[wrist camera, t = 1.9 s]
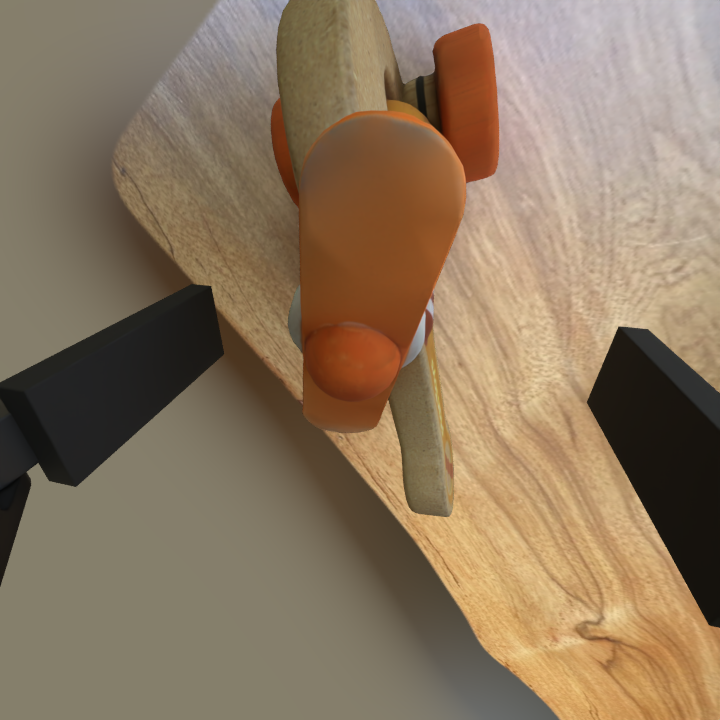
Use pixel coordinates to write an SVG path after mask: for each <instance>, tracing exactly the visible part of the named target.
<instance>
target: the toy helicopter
mask: <svg viewBox="0 0 720 720" xmlns="http://www.w3.org/2000/svg"><path fill="white" fill-rule="evenodd" d="M276 54H277V78H278V87H279V94H280V98H279V99H278V100H277V101H276V103H275V104H274V107H273V110H272V115H271V135H272V144H273V151H274V155H275V160H276V163H277V166H278V170H279V172H280V175H281V177H282V180H283V183H284V185H285V187H286V189H287V191H288V193H289V195H290V197H291V198H292V200H293V202H294V203H295V204H296V206H297V207H298V209H299V245H300V284H299V286H298V287H297V289H296V292H295V294H294V297H293V301H292V304H291V308H290V311H289V316H288V328H289V332H290V335H291V337H292V340H293V342H294V343H295V344H296V346H297V347H298V348H299V349H300V351H301V352H302V353H303V359H304V360H303V415H304V417H305V418H306V419H307V421H309V422H310V423H311V424H313V425H314V426H316V427H318V428H320V429H323V430H327V431H333V432H339V433H355V432H363V431H367V430H371V429H373V428H375V427H376V426H377V424H378V422H379V420H380V418H381V415H382V412H383V410H384V407H385V405H386V403H387V400H389V404H390V407H391V411H392V415H393V419H394V423H395V427H396V431H397V435H398V438H399V442H400V446H401V454H402V467H403V483H404V490H405V495H406V500H407V503H408V506H409V508H410V509H411V510H412V511H413V512H415V513H418V514H425V515H433V516H442V517H449V516H450V515H451V513H452V509H453V500H454V465H453V449H452V440H451V433H450V428H449V425H448V422H447V420H446V416H445V411H444V403H443V396H442V389H441V382H440V375H439V368H438V362H437V355H436V348H435V341H434V333H433V311H434V305H433V302H434V288H435V285H436V282H437V280H438V277H439V275H440V273H441V270H442V268H443V265H444V263H445V260H446V258H447V255H448V253H449V250H450V248H451V245H452V243H453V241H454V238H455V236H456V233H457V230H458V227H459V225H460V222H461V219H462V217H463V213H464V207H465V201H466V183H467V182H471V181H476V180H480V179H484V178H487V177H489V176H491V175H493V174H494V173H495V171H496V169H497V165H498V157H499V119H498V104H497V87H496V76H495V65H494V56H493V50H492V43H491V37H490V33H489V30H488V28H487V27H486V26H485V25H484V24H480V23H478V24H473V25H471V26H468V27H465V28H462V29H460V30H457V31H454V32H452V33H449V34H446V35H444V36H442V37H441V38H439V39H438V40H437V41H436V43H435V45H434V49H433V56H434V63H435V71H434V73H433V74H431V75H428V76H419V77H418V78H416V79H414V80H412V81H410V82H408V83H406V84H403V83H402V79H401V76H400V72H399V69H398V65H397V62H396V58H395V55H394V51H393V48H392V44H391V40H390V37H389V33H388V30H387V28H386V25H385V23H384V20H383V17H382V14H381V12H380V10H379V8H378V5H377V3H376V1H375V0H290V1H289V3H288V4H287V6H286V7H285V9H284V10H283V12H282V16H281V20H280V24H279V27H278V35H277V48H276Z"/></svg>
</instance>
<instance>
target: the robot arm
mask: <svg viewBox="0 0 720 720" xmlns="http://www.w3.org/2000/svg"><path fill="white" fill-rule="evenodd" d="M223 354H224V351H223V345H222V340H221V335H220V330H219V324H218V319H217V314H216V309H215V303H214V298H213V293H212V288H211V286H205V285H195V284H191V285H189V286H187V287H185V288H183V289H182V290H180V291H178V292H176V293H174V294H172V295H170V296H168V297H166V298H164V299H162V300H160V301H158V302H156V303H154V304H152V305H150V306H148V307H146V308H144V309H142V310H141V311H139V312H137V313H135V314H133V315H131V316H129V317H127V318H125V319H123V320H121V321H119V322H117V323H115V324H113V325H111V326H109V327H107V328H106V329H103V330H102V331H100V332H98V333H96V334H94V335H92V336H90V337H88V338H86V339H84V340H82V341H80V342H78V343H76V344H74V345H72V346H70V347H68V348H66V349H64V350H62V351H61V352H59V353H57V354H55V355H53V356H51V357H49V358H47V359H45V360H43V361H41V362H39V363H37V364H35V365H33V366H31V367H29V368H27V369H25V370H23V371H21V372H20V373H18V374H16V375H14V376H12V377H10V378H8V379H6V380H4V381H2V382H0V586H1V582H2V579H3V576H4V573H5V569H6V566H7V563H8V560H9V556H10V552H11V550H12V546H13V543H14V540H15V537H16V533H17V530H18V527H19V523H20V520H21V517H22V514H23V510H24V507H25V503H26V500H27V497H28V494H29V490H30V487H31V479H30V477H29V476H28V474H27V471H28V470H29V469H30V468H32V467H33V466H34V465H36V464H37V463H39V465H40V466H41V468H42V470H43V471H44V473H45V475H46V477H47V478H48V480H49V481H52V482H56V483H61V484H65V485H70V486H74V487H76V486H78V485H79V484H80V483H81V482H82V481H83V480H84V479H85V478H86V477H88V476H89V475H90V474H91V473H92V472H93V471H94V470H95V469H96V468H98V467H99V466H100V465H101V464H102V463H103V462H104V461H105V460H107V459H108V458H109V457H110V456H111V455H112V454H113V453H114V452H115V451H117V450H118V448H120V447H121V446H122V445H123V444H124V443H125V442H127V441H128V440H129V439H130V438H131V437H132V436H133V435H134V434H135V433H137V432H138V431H139V430H140V429H141V428H142V427H143V426H144V425H145V424H147V423H148V422H149V421H150V420H151V419H152V418H153V417H154V416H155V415H157V414H158V413H159V412H160V411H161V410H162V409H163V408H164V407H166V406H167V405H168V404H169V403H170V402H171V401H172V400H173V399H174V398H176V397H177V396H178V395H179V394H180V393H181V392H182V391H184V390H185V389H186V388H187V387H188V386H189V385H190V384H191V383H192V382H194V381H195V380H196V379H197V378H198V377H199V376H200V375H201V374H202V373H204V371H206V370H207V369H208V368H209V367H210V366H211V365H213V364H214V363H215V362H216V361H217V360H218V359H219V358H220V357H221V356H223ZM587 404H588V406H589V407H590V409H591V411H592V413H593V415H594V416H595V418H596V420H597V422H598V424H599V426H600V427H601V429H602V431H603V433H604V435H605V437H606V438H607V440H608V442H609V444H610V446H611V447H612V449H613V451H614V453H615V455H616V457H617V458H618V460H619V462H620V464H621V466H622V467H623V469H624V471H625V473H626V475H627V477H628V478H629V480H630V482H631V484H632V486H633V488H634V489H635V491H636V493H637V495H638V497H639V498H640V500H641V502H642V504H643V506H644V508H645V509H646V511H647V513H648V515H649V517H650V518H651V520H652V522H653V524H654V526H655V528H656V529H657V531H658V533H659V535H660V537H661V539H662V540H663V542H664V544H665V546H666V548H667V549H668V551H669V553H670V555H671V557H672V559H673V560H674V562H675V564H676V566H677V568H678V569H679V571H680V573H681V575H682V577H683V579H684V580H685V582H686V584H687V586H688V588H689V590H690V591H691V593H692V595H693V597H694V599H695V600H696V602H697V604H698V606H699V608H700V610H701V611H702V613H703V615H704V617H705V619H706V620H707V622H708V624H709V625H710V626H715V627H719V628H720V393H719V392H718V391H716V390H715V389H714V388H713V387H712V386H711V385H710V384H709V383H707V382H706V381H705V380H704V379H703V378H702V377H701V376H700V375H698V374H697V373H696V372H695V371H694V370H693V369H692V368H691V367H690V366H688V365H687V364H686V363H685V362H684V361H683V360H682V359H681V358H679V357H678V356H677V355H676V354H675V353H674V352H673V351H672V350H670V349H669V348H668V347H667V346H666V345H665V344H664V343H663V342H662V341H660V340H659V339H658V338H657V337H656V336H655V335H654V334H653V333H651V332H650V331H649V330H648V329H640V328H629V327H618V329H617V332H616V334H615V336H614V339H613V341H612V344H611V346H610V348H609V351H608V353H607V355H606V358H605V360H604V363H603V365H602V367H601V370H600V372H599V374H598V377H597V379H596V382H595V384H594V386H593V389H592V391H591V394H590V396H589V398H588V401H587Z"/></svg>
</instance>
